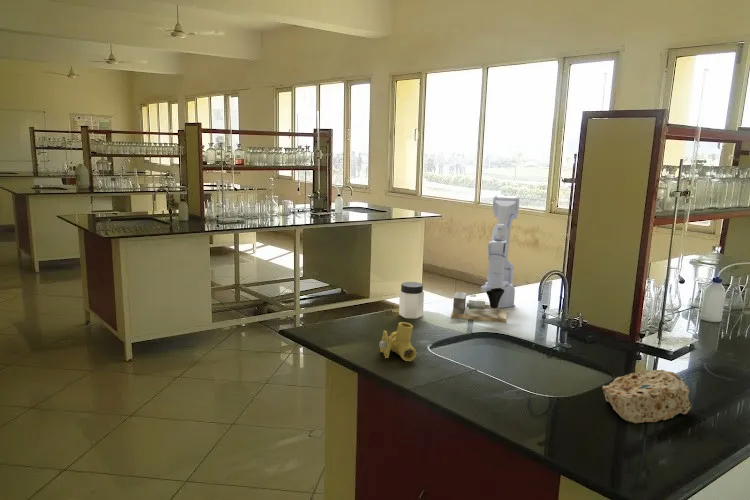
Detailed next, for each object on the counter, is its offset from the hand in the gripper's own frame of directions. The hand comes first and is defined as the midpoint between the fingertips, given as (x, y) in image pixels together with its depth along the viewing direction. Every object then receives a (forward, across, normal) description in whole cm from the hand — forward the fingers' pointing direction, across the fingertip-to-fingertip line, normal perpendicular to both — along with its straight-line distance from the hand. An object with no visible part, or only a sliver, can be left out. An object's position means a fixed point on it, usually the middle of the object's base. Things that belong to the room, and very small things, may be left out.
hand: (493, 307), depth 210 cm
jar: (+4, +24, -20) cm, 31 cm away
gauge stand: (+3, +3, -4) cm, 6 cm away
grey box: (+2, +5, -4) cm, 7 cm away
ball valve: (+4, +56, +6) cm, 57 cm away
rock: (+4, +32, +70) cm, 77 cm away
